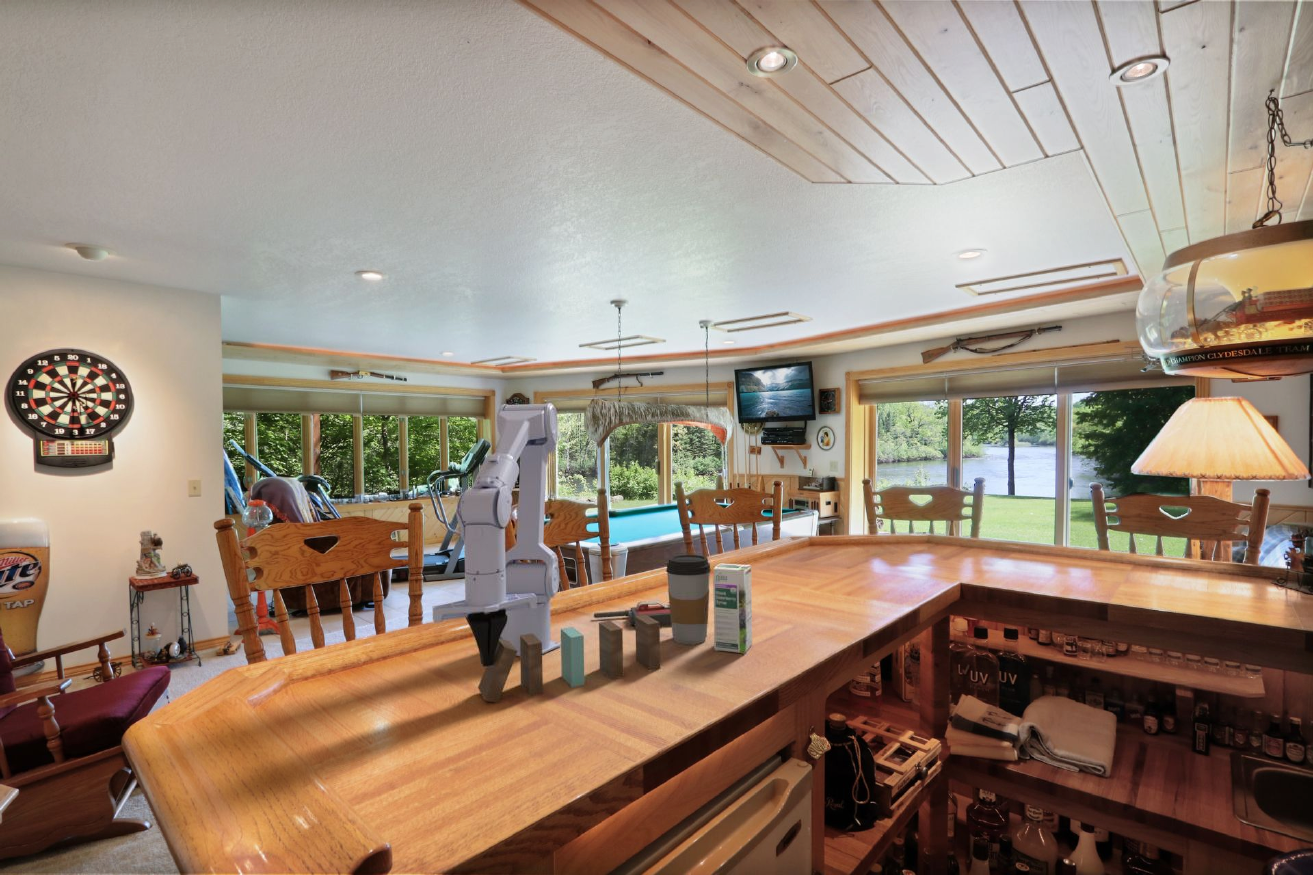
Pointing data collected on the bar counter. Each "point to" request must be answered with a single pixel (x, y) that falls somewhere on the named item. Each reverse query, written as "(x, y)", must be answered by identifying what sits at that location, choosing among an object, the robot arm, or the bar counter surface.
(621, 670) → the domino
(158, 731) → the bar counter surface
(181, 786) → the bar counter surface
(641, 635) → the domino
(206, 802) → the bar counter surface
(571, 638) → the domino
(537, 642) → the domino
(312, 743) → the bar counter surface
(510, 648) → the domino
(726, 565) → the syrup box
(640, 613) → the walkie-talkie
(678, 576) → the coffee cup
